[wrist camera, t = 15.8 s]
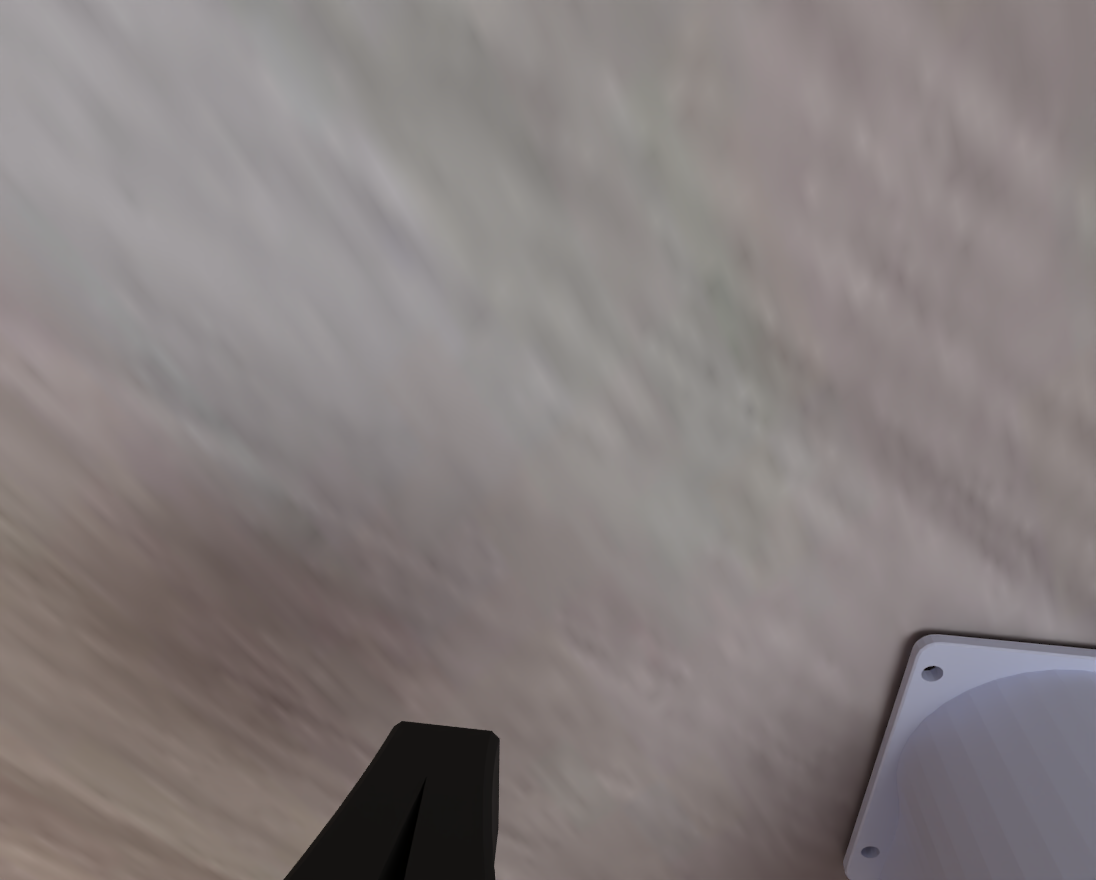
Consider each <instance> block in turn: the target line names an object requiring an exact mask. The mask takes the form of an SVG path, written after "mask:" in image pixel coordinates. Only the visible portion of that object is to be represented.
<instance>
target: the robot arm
mask: <svg viewBox="0 0 1096 880" xmlns="http://www.w3.org/2000/svg"><path fill="white" fill-rule="evenodd" d="M929 666H936V667H935V668H933V669H932V670H927V671H924V669H925V668H927V667H929ZM499 742H500V739H499V738H498V737H497V736H496V735H495V734H494V733H493V732H492V731H487V730H478V729H468V728H459V727H450V726H441V725H432V724H423V723H414V722H405V721H401V722H400V723H398V724H397V725H395V726H394V727H393V729H392V730H391V732H390V734H389V735H388V737H387V739H386V740H385V742H384V743H383V745H382V746H381V748H380V750H379V751H378V753H377V754H376V756H375V757H374V759H373V760H372V762H371V763H370V765H369V766H368V768H367V769H366V771H365V772H364V773H363V775H362V776H361V778H360V779H359V781H358V782H357V784H356V785H355V786H354V788H353V789H352V791H351V792H350V793H349V795H348V796H347V797H346V799H345V800H344V802H343V803H342V804H341V806H340V807H339V809H338V810H337V811H336V813H335V814H334V815H333V817H332V818H331V819H330V821H329V822H328V823H327V824H326V826H325V827H324V828H323V830H322V831H321V832H320V834H319V835H318V836H317V838H316V839H315V840H314V841H313V843H312V844H311V845H310V847H309V848H308V849H307V851H306V852H305V853H304V854H303V856H302V857H301V858H300V860H299V861H298V862H297V863H296V865H295V866H294V867H293V868H292V870H291V871H290V872H289V873H288V875H287V876H286V877H285V878H284V880H495V870H494V861H495V852H496V844H497V836H498V815H499ZM843 866H844V870H845V874H846V876H847V877H848V879H850V880H1096V649H1086V648H1075V647H1065V646H1055V645H1045V644H1034V643H1024V642H1014V641H1003V640H993V639H983V638H972V637H962V636H952V635H941V634H932V635H927V636H924V637H922V638H921V639H919V640H918V641H917V642H916V643H915V644H914V646H913V648H912V651H911V654H910V657H909V660H908V664H907V667H906V670H905V673H904V676H903V679H902V682H901V685H900V688H899V691H898V694H897V697H896V700H895V704H894V707H893V710H892V713H891V716H890V719H889V722H888V725H887V728H886V731H885V734H884V737H883V740H882V744H881V747H880V750H879V753H878V756H877V759H876V762H875V765H874V768H873V771H872V774H871V777H870V780H869V784H868V787H867V790H866V793H865V796H864V799H863V802H862V805H861V808H860V811H859V814H858V817H857V820H856V824H855V827H854V830H853V833H852V836H851V839H850V842H849V845H848V848H847V851H846V854H845V857H844V860H843Z"/></svg>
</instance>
